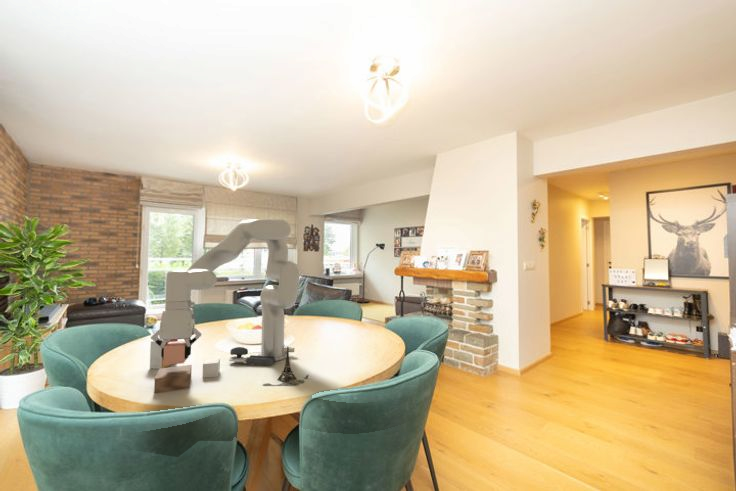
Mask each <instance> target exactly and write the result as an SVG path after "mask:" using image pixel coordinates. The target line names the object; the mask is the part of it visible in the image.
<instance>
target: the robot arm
mask: <svg viewBox="0 0 736 491" xmlns="http://www.w3.org/2000/svg"><path fill="white" fill-rule="evenodd" d="M291 229H292V227H291V225H290V223H289V222H288V221H287V220H284V219H261V218H258V219H255V218H254V219H246V220H242V221H240V222H239V223H238V224H237V225H235V227H234V228H232V230H231V231H230V232H229V233H228V234H227V235H226V236H225V237H224V238H223V239H222V240H221V241H220V242H219V243H218V244H217V245H215V246H214V247H212V248H211V249H210V250H208V251H207V252H205V253H204V254H203V255H201V256H200V257H199V258H198V259H197V260H196V261H195V262H194V263H192V265H191V266H190V267H189V268H188V269H187V270H186V269H176V270H175V269H174V270H169V271H168V272H167V273H166V282H165V283H166V284H165V301H164V302H165V304H164V306H165V308H164V309H163V311H162V312H161V317H160V324H159V329H158V330H157V331H155V333H153V335H151V337H150V338H151V339H150V340H151V341H155V342H156V343H157V344H158V345H159V346H160V348H162V349H161V357H163V358H164V346H165V345H166V344H167V343H168V341H169V340H174V339H178V340H183V341H185V343H186V347H185V359H186V360H188V358H189V356H191V355H192V351H191V350H192V345H193V344H194V343H195V342H197V340H199V339H200V337H202V333H201V332H200V330H198V329H197V328H196V327H195V313H194V309H193V308H191V307H195V305H196V302H195V301H192V300H191V299H192V298H191V295H192V291H193V290H195V291H209V290H210V289H212V288H214V287H215V285H216V284H217V282H218V276H217V275H216V273H215V272H214V271H215V270H217V269H218V268H219V267H221V266H223V265H225V264H227V263H230V262H232V261H234V260H236V259H237V258H238V257H240V255H241V254H242V252H244V250H245V249H246V248H247V247H248V246H249V245H250V244H251V243H252V242H253V241H264V242H265V243H266V245H267V249H268V252H267V254H268V256H267V261H266V262H267V263H266V273H265V274H266V279H268V280H269V281H271V282H275V283H278V284H269V285H266V286H265V287H263V288H262V290H261V292H260V295H259V296H260V297H259V299H260V306H261V315H262V316H261V342H260V343H261V345H260V346H261V350H260V353H258V354H257V356H274V357H275V362H278V361H282V360H286V356H287V347H289V353H295V347H292V346H285V311H284V310H288V309H291V308H292V307H293V306H294V305H295V304H296V302H297V298H298V291H299V290H298V289H299V281H300V271H299V268H298V265H297V264H296V263H295V262H293V261H290V260H289V248H288V244H287V241H286V240H285V239H287V238H288V237H290V235H291V233H292V230H291ZM194 335H195V336H194ZM193 336H194V337H193ZM192 337H193V338H192ZM161 339H162V340H163V341H162V340H161Z"/></svg>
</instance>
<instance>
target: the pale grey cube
mask: <svg viewBox="0 0 736 491" xmlns="http://www.w3.org/2000/svg"><path fill="white" fill-rule="evenodd" d="M220 368H221V359H220V358H212V359H211V358H210V359H209V358H208V359H205V360H204V361H203V364H202V378H212V377H218V376H219V374H220V370H221V369H220Z"/></svg>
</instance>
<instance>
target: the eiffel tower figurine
mask: <svg viewBox="0 0 736 491" xmlns="http://www.w3.org/2000/svg"><path fill="white" fill-rule="evenodd" d="M286 347H287V356H286V358H285V364H284V367H283V370H282V371H281V374H280V375H279V377H278V378H277V379H276V380H277V381H278V382H281V383H279V384H271V383H268V382H267V383H263V385H262V386H263V387H265V386H266V387H267V386H269V387H270V386H272V387H275V386H276V387H277V386H278V387H279V386H290V387H291V386H294V387H295V386H301V385H303V384H304V383H305V380H308V378H309V374H306V375H305V377H303V379H298V378H297V376H295V374H294V371H293V370H292V368H291V365H290V364H291V363H290V352H289V347H290V346H286Z"/></svg>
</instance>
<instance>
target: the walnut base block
mask: <svg viewBox="0 0 736 491" xmlns="http://www.w3.org/2000/svg"><path fill="white" fill-rule="evenodd" d="M157 370H158V371H157V373H156V374H155V377H154V387H153V388H154V389H153V390H154V391H153V394H160V393H166V392H172V391H173V392H174V391H179V390H180V391H181V390H188V389H190V387H191V381H192V364H187V365H180V366H179V365H178V366H171V367H170V366H168V367H165V368H161V369H157Z"/></svg>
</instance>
